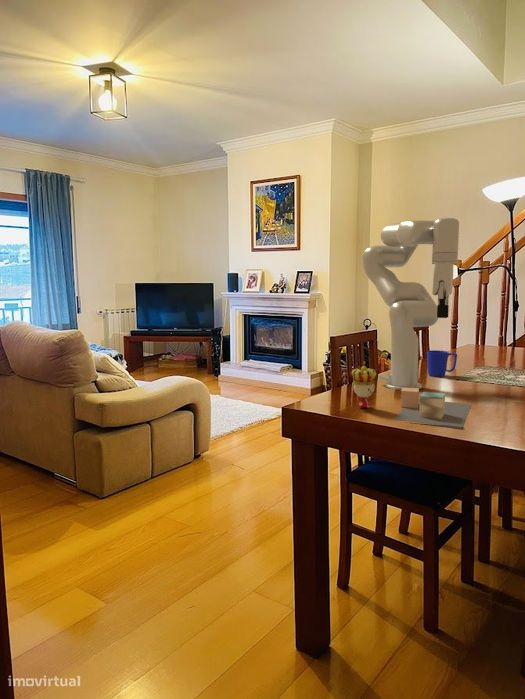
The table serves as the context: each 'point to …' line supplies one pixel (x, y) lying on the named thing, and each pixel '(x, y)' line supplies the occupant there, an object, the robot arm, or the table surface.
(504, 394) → the table surface
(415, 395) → the terracotta block
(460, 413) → the mat
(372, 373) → the toy
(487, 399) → the table surface
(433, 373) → the mug
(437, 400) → the maple block
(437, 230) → the robot arm
